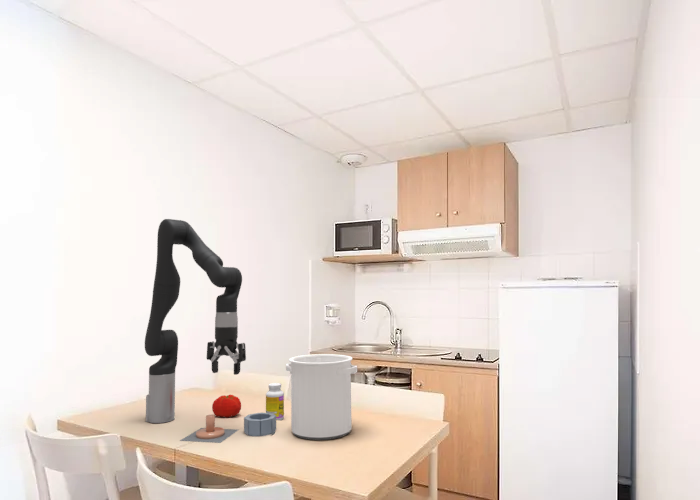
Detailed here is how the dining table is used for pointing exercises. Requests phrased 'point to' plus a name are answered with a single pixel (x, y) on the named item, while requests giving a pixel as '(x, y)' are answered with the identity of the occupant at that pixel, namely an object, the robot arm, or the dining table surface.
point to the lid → (210, 429)
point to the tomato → (226, 406)
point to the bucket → (321, 395)
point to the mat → (216, 440)
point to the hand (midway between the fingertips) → (225, 373)
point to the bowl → (260, 424)
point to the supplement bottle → (275, 401)
